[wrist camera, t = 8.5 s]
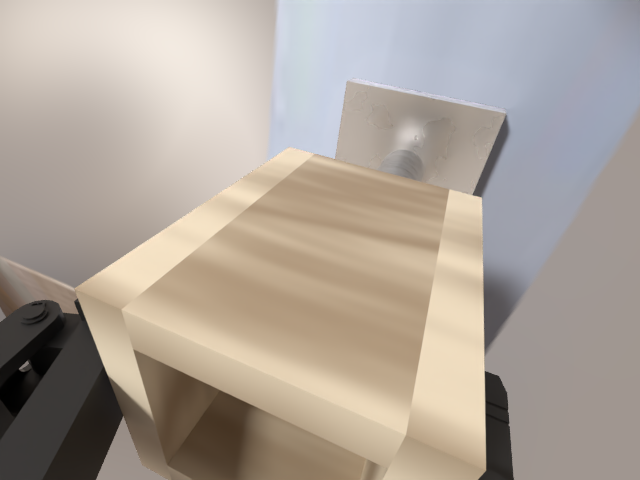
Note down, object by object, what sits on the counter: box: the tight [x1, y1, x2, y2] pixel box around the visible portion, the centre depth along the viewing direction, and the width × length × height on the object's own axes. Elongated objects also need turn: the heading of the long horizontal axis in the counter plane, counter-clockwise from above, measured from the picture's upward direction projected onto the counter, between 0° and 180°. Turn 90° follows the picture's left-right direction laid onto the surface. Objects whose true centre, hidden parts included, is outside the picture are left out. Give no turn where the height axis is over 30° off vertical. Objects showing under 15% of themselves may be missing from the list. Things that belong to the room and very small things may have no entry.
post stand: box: [335, 78, 506, 195], centre depth 21 cm, size 10×10×13 cm
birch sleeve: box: [75, 147, 486, 480], centre depth 12 cm, size 8×8×10 cm
